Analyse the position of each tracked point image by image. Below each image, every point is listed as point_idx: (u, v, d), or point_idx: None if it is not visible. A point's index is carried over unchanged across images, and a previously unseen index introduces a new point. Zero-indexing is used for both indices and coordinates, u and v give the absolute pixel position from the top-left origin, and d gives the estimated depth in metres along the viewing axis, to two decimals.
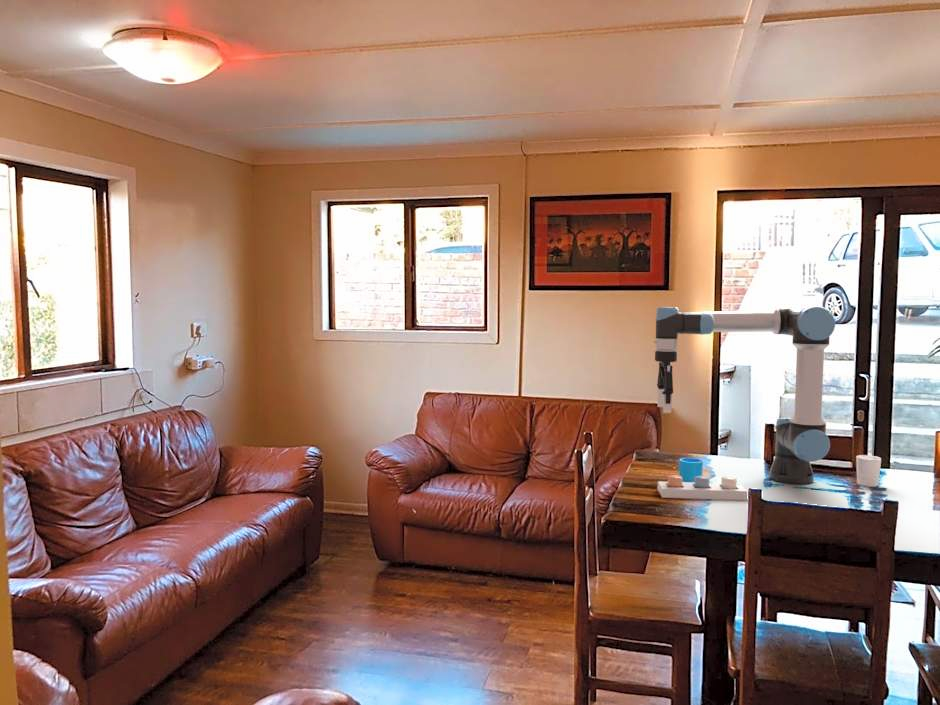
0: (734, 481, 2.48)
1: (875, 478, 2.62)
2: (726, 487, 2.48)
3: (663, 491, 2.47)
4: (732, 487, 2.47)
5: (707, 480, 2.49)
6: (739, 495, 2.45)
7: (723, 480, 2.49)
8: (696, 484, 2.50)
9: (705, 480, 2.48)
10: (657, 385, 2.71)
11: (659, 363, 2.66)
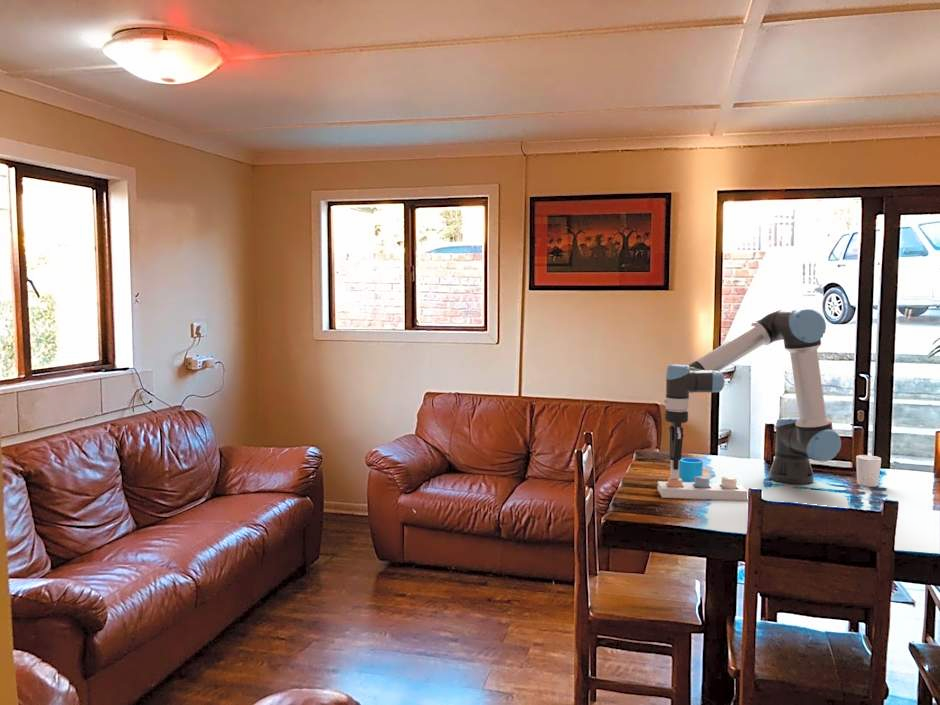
0: (734, 481, 2.48)
1: (875, 478, 2.62)
2: (726, 487, 2.48)
3: (663, 491, 2.47)
4: (732, 487, 2.47)
5: (707, 480, 2.49)
6: (739, 495, 2.45)
7: (723, 480, 2.49)
8: (696, 484, 2.50)
9: (705, 480, 2.48)
10: (670, 454, 2.54)
11: None
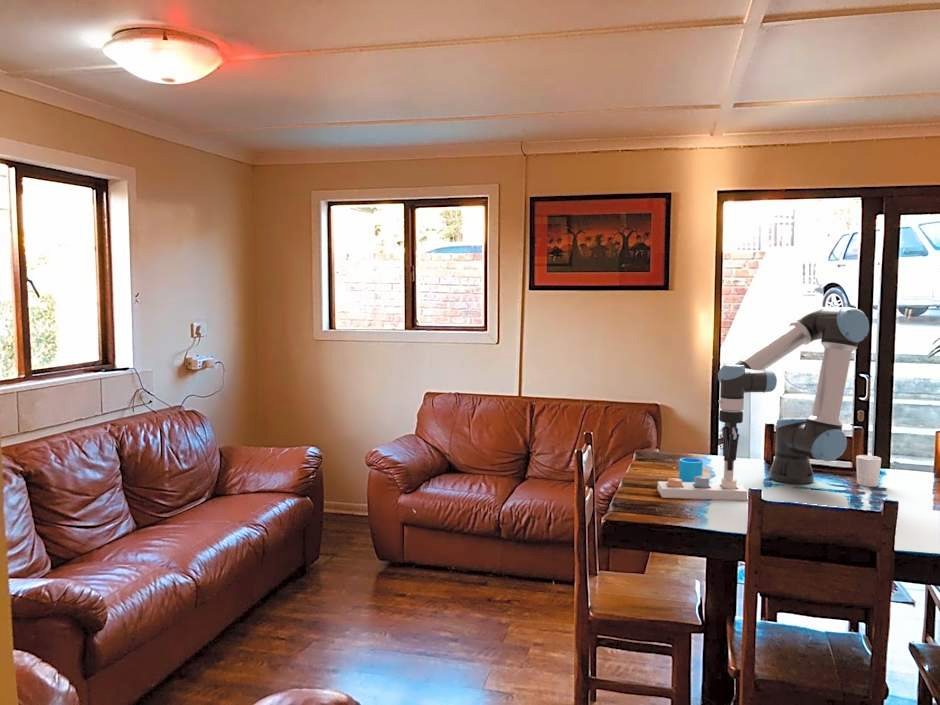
0: (734, 482, 2.48)
1: (875, 478, 2.62)
2: (726, 488, 2.48)
3: (663, 491, 2.47)
4: (732, 488, 2.47)
5: (707, 480, 2.49)
6: (739, 495, 2.45)
7: (723, 481, 2.49)
8: (696, 484, 2.50)
9: (705, 480, 2.48)
10: (723, 455, 2.52)
11: (722, 428, 2.54)
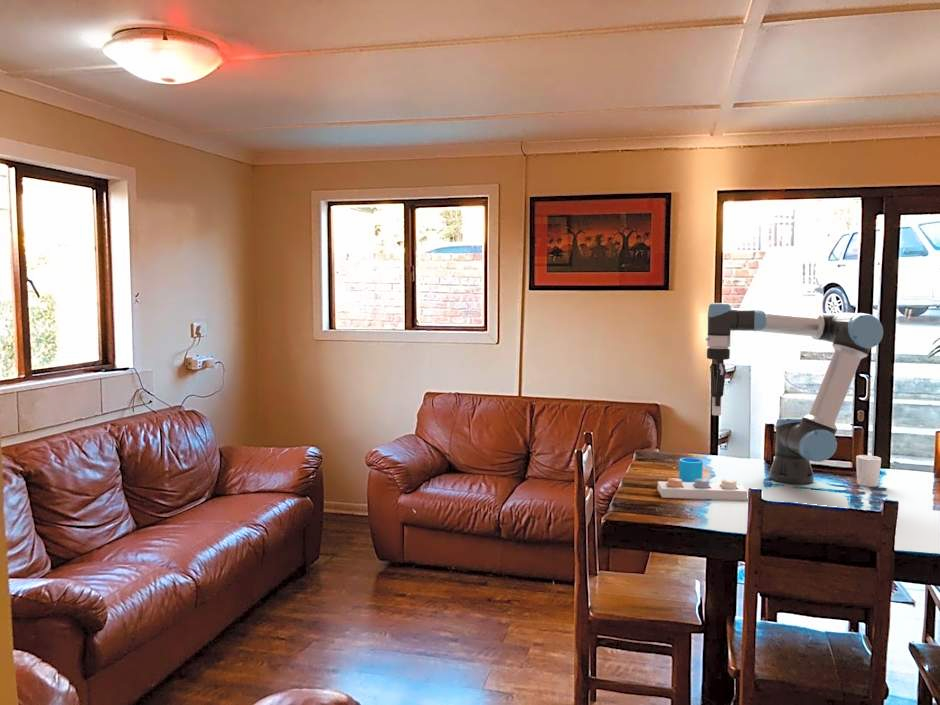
0: (734, 484, 2.48)
1: (875, 478, 2.62)
2: None
3: (663, 491, 2.47)
4: None
5: (707, 483, 2.49)
6: (739, 495, 2.45)
7: (723, 483, 2.49)
8: (696, 487, 2.50)
9: (705, 483, 2.48)
10: (711, 392, 2.59)
11: (710, 366, 2.61)
